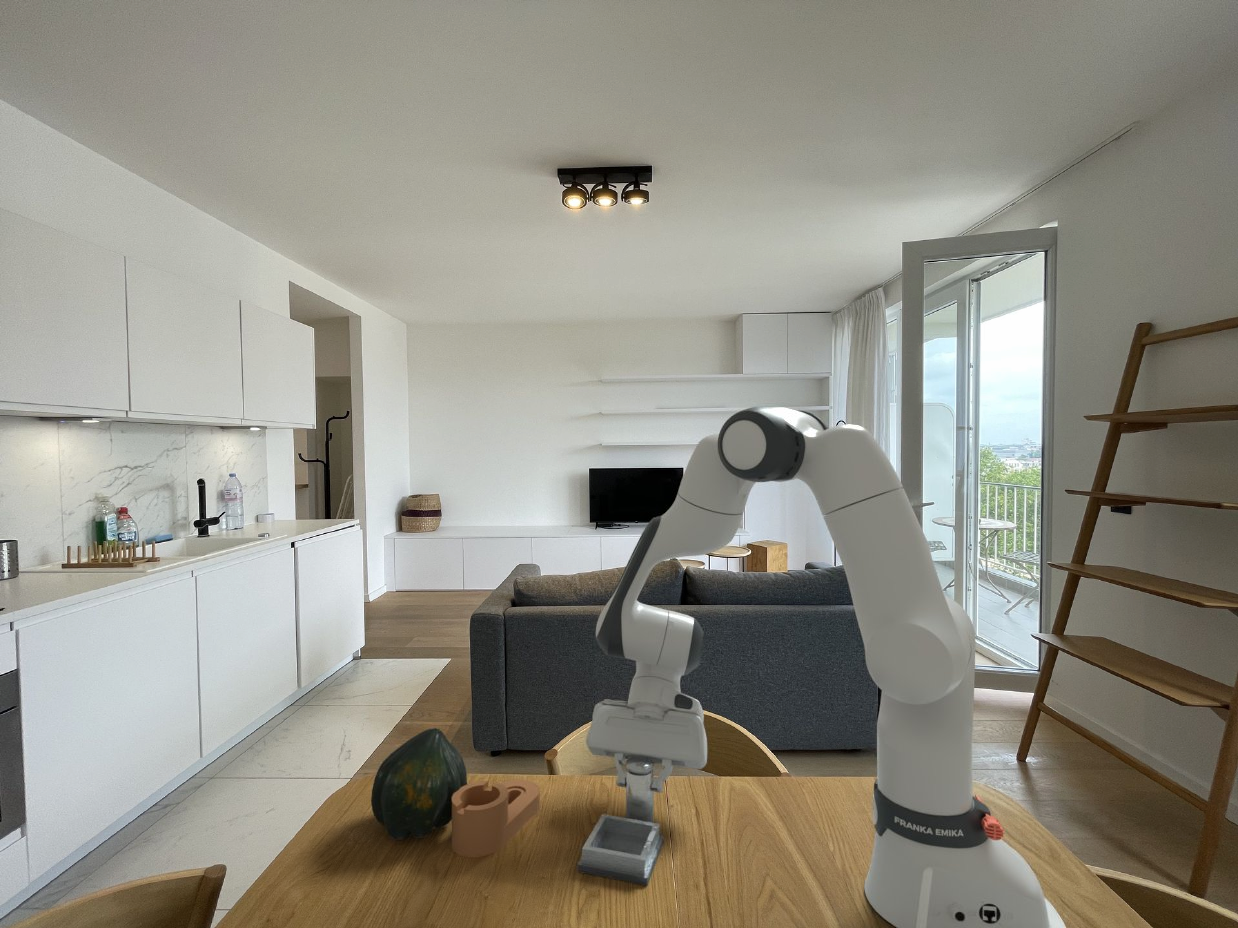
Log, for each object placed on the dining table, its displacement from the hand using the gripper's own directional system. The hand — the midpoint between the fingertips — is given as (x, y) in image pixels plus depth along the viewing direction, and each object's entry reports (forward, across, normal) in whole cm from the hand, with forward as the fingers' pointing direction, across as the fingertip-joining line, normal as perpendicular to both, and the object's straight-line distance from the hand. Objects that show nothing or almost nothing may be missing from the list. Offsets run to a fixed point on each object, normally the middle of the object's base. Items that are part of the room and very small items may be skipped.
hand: (638, 788), depth 98 cm
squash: (+11, -33, -4) cm, 35 cm away
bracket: (+9, -21, -1) cm, 23 cm away
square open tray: (+10, 0, -3) cm, 11 cm away
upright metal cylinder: (+3, 0, +4) cm, 5 cm away
